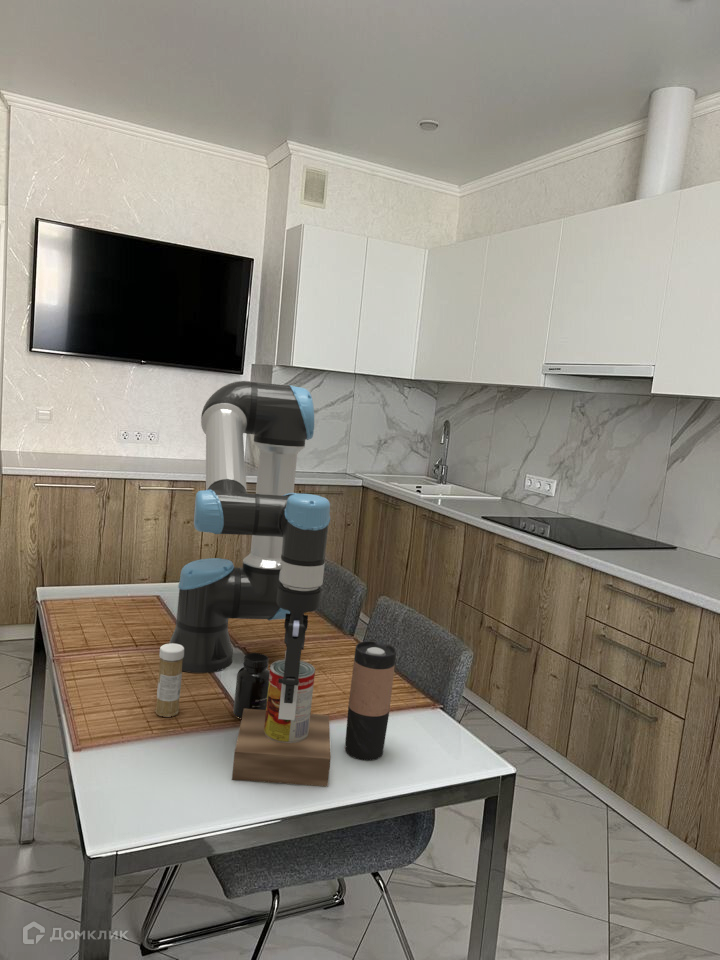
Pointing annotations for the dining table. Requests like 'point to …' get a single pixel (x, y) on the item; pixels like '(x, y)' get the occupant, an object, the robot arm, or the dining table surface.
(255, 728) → the walnut riser
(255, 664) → the supplement bottle
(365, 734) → the travel mug
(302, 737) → the canned food
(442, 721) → the dining table surface
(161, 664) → the sprinkles bottle
